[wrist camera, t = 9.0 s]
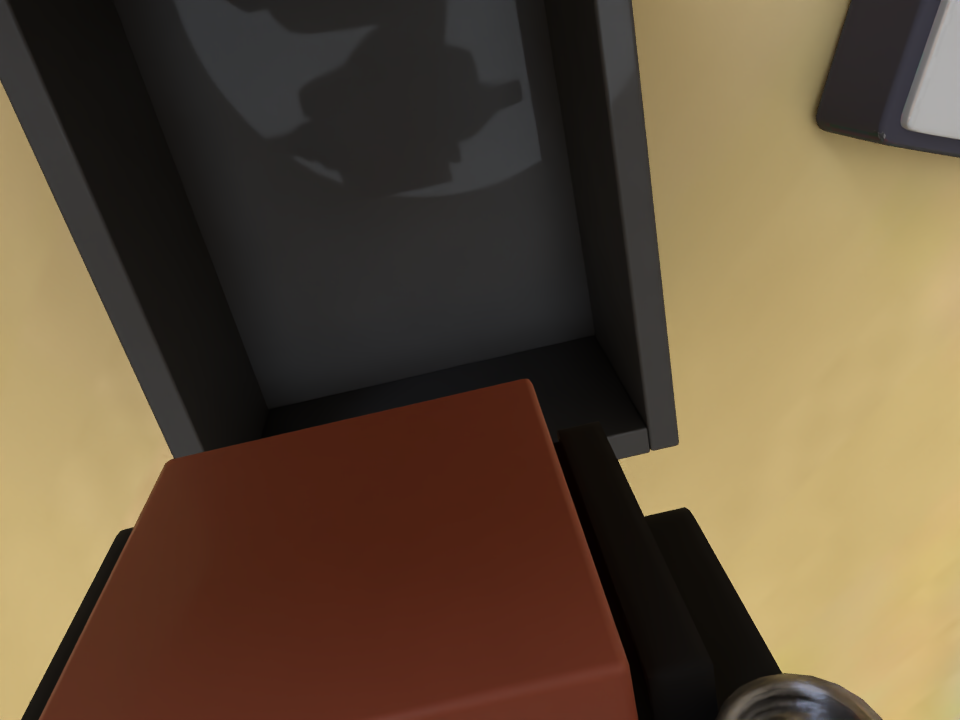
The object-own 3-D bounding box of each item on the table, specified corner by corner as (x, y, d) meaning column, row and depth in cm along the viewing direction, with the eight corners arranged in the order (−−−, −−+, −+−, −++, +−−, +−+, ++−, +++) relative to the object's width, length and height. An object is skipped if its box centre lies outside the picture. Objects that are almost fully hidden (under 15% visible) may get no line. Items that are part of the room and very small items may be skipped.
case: (615, 340, 27) (680, 446, 21) (257, 422, 27) (215, 552, 21) (539, -204, 20) (602, -288, 14) (55, -93, 20) (-97, -126, 14)
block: (163, 458, 9) (-13, 812, 5) (530, 375, 9) (631, 665, 5) (281, 713, 11) (216, 1116, 7) (584, 644, 11) (688, 1008, 7)
